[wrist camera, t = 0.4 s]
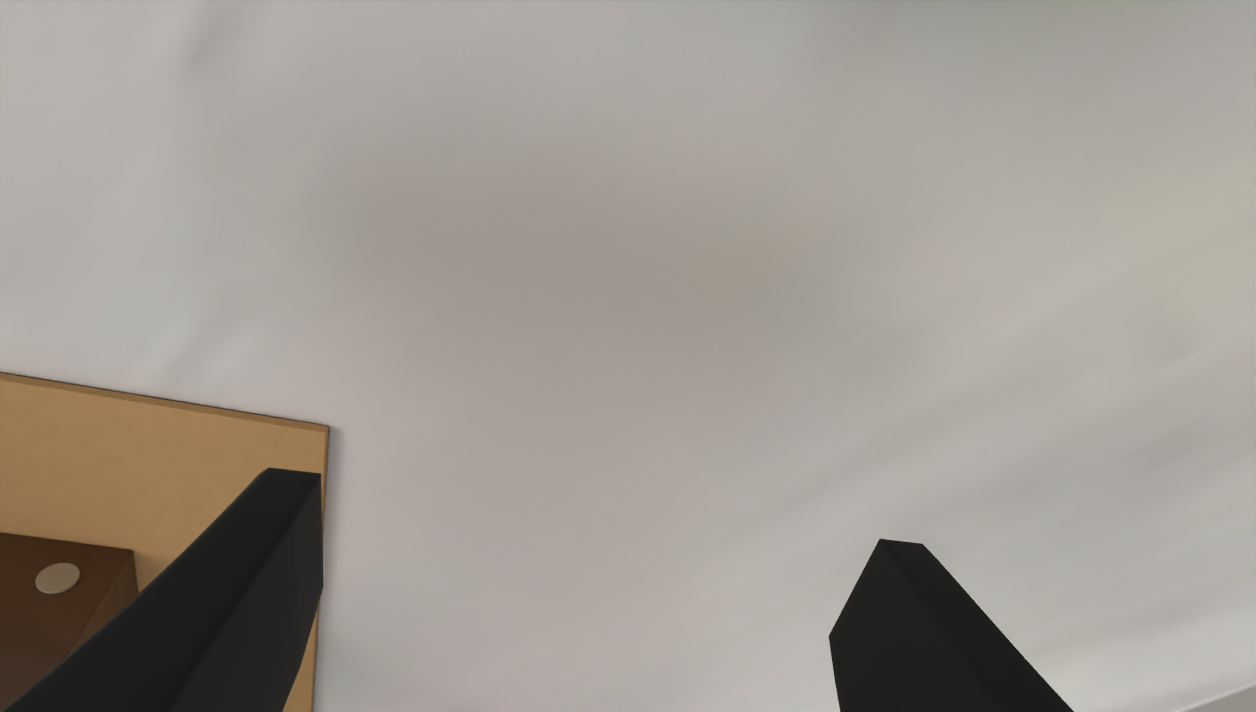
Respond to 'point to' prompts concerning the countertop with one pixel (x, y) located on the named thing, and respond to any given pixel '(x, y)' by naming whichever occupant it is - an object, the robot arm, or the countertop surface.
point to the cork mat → (140, 473)
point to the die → (54, 603)
